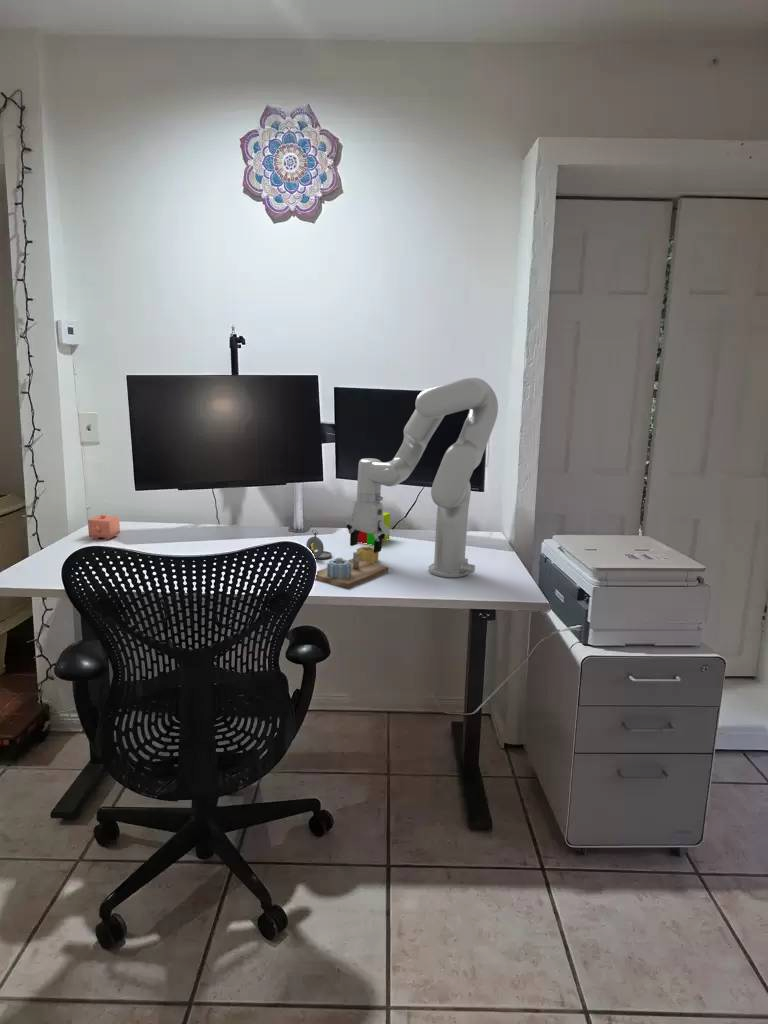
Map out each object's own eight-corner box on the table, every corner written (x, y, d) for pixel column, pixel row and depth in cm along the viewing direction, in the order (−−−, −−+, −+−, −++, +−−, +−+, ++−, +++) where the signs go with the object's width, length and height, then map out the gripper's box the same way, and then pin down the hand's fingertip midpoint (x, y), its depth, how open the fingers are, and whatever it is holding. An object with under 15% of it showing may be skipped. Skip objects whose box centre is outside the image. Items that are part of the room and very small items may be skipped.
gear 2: (382, 560, 215) (382, 548, 214) (369, 565, 210) (369, 553, 209) (365, 556, 219) (365, 544, 218) (352, 560, 213) (353, 549, 213)
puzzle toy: (366, 535, 245) (366, 509, 242) (389, 539, 240) (390, 513, 237) (351, 541, 236) (351, 514, 234) (374, 546, 231) (375, 518, 229)
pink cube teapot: (84, 542, 225) (82, 518, 223) (102, 533, 236) (100, 510, 234) (105, 543, 224) (104, 520, 222) (123, 534, 235) (121, 512, 234)
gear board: (388, 572, 203) (389, 552, 202) (347, 588, 188) (348, 567, 186) (353, 562, 211) (353, 543, 210) (311, 578, 196) (311, 557, 194)
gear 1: (355, 574, 196) (355, 561, 195) (340, 580, 190) (340, 567, 189) (337, 569, 200) (337, 556, 199) (322, 575, 194) (322, 562, 193)
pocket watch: (332, 554, 220) (332, 525, 218) (330, 561, 212) (330, 531, 210) (308, 553, 220) (308, 524, 218) (305, 561, 212) (305, 531, 209)
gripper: (397, 500, 208) (393, 552, 212) (354, 491, 217) (351, 540, 221) (383, 504, 202) (379, 557, 206) (340, 494, 211) (337, 544, 215)
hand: (365, 548), depth 214 cm, fingers open, 9 cm apart
